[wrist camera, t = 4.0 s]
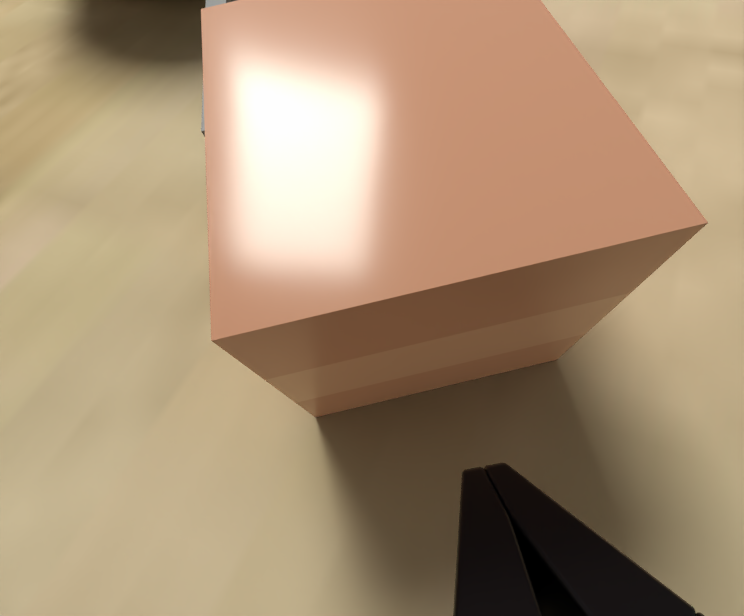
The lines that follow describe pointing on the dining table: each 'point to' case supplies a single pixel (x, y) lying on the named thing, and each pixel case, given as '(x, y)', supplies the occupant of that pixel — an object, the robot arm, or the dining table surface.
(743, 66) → the dining table surface
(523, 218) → the tile stack
